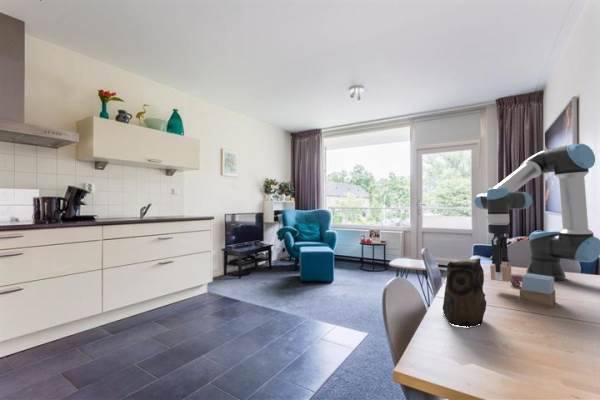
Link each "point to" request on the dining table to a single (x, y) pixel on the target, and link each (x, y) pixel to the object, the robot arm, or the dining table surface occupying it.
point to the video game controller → (516, 279)
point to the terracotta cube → (506, 272)
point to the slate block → (538, 283)
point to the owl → (464, 293)
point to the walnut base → (537, 298)
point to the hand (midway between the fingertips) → (501, 278)
